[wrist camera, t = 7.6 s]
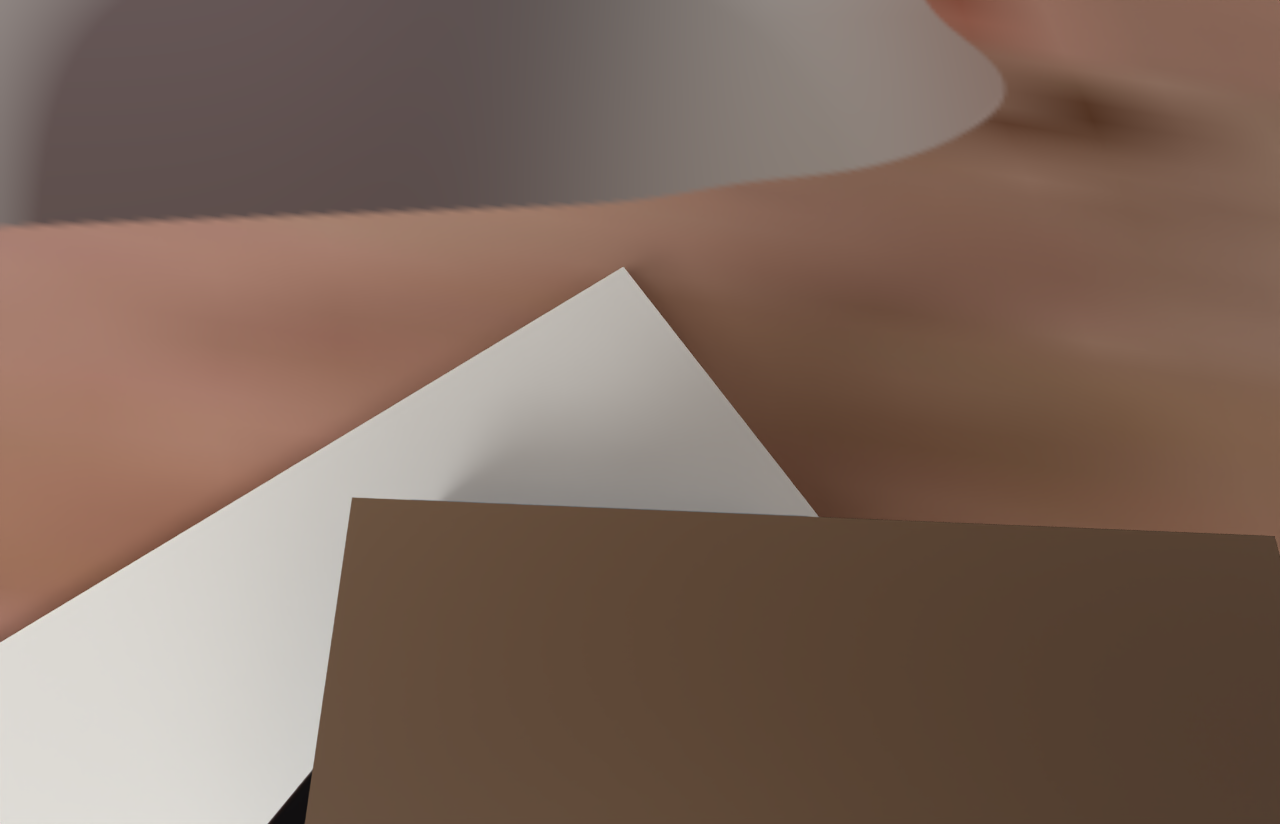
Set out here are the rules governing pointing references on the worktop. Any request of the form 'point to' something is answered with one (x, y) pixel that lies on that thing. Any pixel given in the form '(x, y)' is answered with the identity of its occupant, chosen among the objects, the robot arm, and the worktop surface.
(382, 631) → the walnut column
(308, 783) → the robot arm
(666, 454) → the white rectangular sheet
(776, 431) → the worktop surface
